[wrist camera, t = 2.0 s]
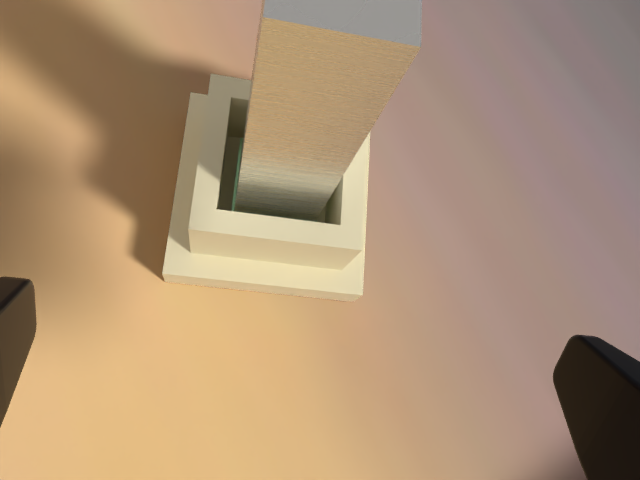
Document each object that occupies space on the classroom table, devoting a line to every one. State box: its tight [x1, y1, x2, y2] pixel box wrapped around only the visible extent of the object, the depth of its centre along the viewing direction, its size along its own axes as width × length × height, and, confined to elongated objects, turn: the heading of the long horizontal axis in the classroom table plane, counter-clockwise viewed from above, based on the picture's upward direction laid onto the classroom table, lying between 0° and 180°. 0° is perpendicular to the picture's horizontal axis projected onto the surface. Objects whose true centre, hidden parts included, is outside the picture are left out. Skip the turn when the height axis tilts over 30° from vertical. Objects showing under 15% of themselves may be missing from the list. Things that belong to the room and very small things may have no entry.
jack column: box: [231, 0, 422, 222], centre depth 16 cm, size 3×3×12 cm
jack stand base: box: [162, 74, 370, 302], centre depth 21 cm, size 8×8×4 cm
